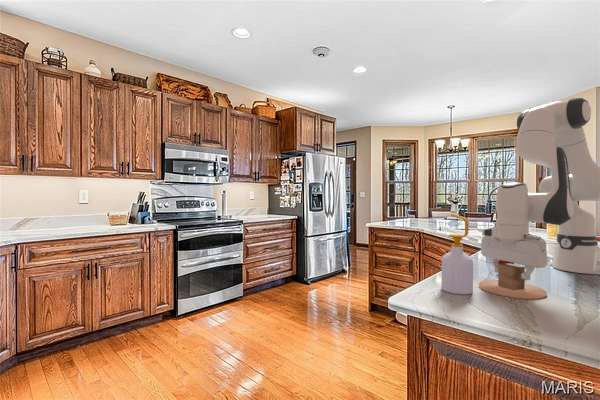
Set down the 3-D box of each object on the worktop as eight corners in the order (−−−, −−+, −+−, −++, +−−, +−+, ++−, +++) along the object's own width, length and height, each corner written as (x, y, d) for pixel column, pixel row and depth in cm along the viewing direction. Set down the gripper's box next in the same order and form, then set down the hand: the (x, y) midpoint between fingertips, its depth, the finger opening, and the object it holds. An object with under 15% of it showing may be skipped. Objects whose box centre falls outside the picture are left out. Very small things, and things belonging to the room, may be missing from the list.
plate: (506, 280, 113) (506, 277, 113) (561, 295, 96) (561, 292, 96) (466, 284, 108) (466, 282, 108) (517, 302, 91) (517, 298, 91)
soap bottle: (444, 284, 108) (444, 212, 108) (474, 289, 103) (475, 213, 102) (438, 291, 101) (439, 214, 100) (470, 297, 95) (471, 215, 95)
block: (509, 284, 105) (509, 263, 105) (524, 288, 101) (524, 266, 100) (498, 285, 104) (498, 264, 104) (512, 290, 99) (512, 267, 99)
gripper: (553, 236, 93) (552, 283, 93) (491, 229, 112) (491, 268, 113) (537, 237, 91) (537, 285, 91) (477, 229, 110) (477, 269, 111)
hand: (511, 275), depth 102 cm, fingers open, 8 cm apart
